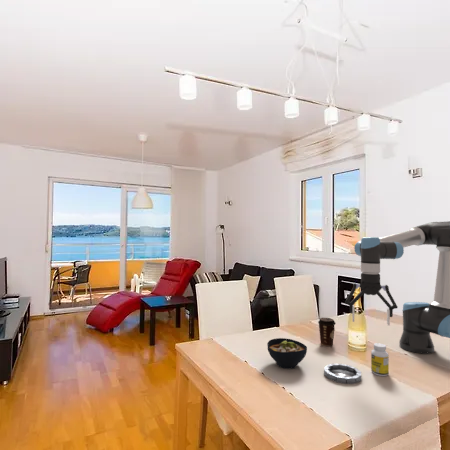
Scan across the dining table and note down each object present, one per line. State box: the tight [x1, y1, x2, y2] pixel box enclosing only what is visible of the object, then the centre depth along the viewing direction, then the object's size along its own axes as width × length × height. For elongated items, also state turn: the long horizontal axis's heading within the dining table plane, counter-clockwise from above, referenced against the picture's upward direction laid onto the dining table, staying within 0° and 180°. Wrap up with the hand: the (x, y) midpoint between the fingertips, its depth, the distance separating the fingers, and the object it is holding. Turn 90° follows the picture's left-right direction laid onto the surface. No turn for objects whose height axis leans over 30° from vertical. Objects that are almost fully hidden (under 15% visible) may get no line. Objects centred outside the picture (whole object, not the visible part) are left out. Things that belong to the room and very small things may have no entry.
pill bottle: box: [370, 342, 390, 377], centre depth 131 cm, size 6×6×12 cm
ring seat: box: [323, 363, 362, 385], centre depth 129 cm, size 14×14×2 cm
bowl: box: [266, 337, 308, 370], centre depth 139 cm, size 17×17×10 cm
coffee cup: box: [317, 317, 336, 347], centre depth 166 cm, size 9×8×13 cm
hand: (370, 322), depth 135 cm, fingers open, 13 cm apart
